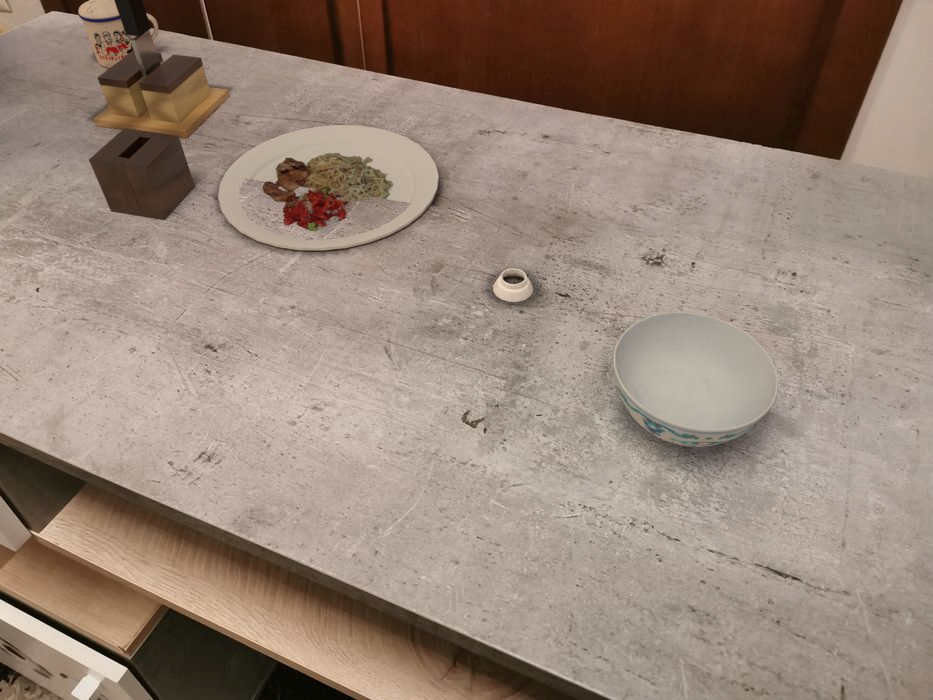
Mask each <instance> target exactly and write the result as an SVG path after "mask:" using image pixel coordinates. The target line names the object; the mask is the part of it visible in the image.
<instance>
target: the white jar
mask: <svg viewBox="0 0 933 700" xmlns="http://www.w3.org/2000/svg"><path fill="white" fill-rule="evenodd" d="M507 277H518V278H521V279H523V280H522V281H521V282H519V283H509V282H506V281H505V280H504V278H507ZM492 289H493V290H492V292H493V293H494V295H495V297H497V298H499V299H500V300H502V301H505V302H509V303H519V302H522V301H525V300H527V299H528V298H531V296H532V294H533V292H534V285H533V283H532V282H531V280H530V279H529V277H528V276H527V273H526V272H525V271H523V270H522V269H519V268H514V267H513V268H507V269H505V270H503V271H502V272H501V273H500V274H499V276H498V277H497V279H496V280H495V282H494V283H493V285H492Z"/></svg>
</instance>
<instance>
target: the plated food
mask: <svg viewBox="0 0 933 700" xmlns="http://www.w3.org/2000/svg"><path fill="white" fill-rule="evenodd" d="M245 179H247V180H251V181H252V180H254V181H260V182H264V184H262V190H263V193H264V194H266V195H267V196H269V197H270V198H271V199H272V200H273V201H274V202H279V203H285V204H284V207H282V214H283V215H282V216H283V220H282V222H283V223H284V226H285V227H286V226H291V225H292V224H295V223H296V225H298V227H300V228H303V229H305V230H310V231H311V232H318V231H319V232H320V231H323V230H324V229H326V227H327V226H330V225H331V224H332V223H333V224H335V223H338V222H341V221H342V220H345V219H346V217H347V216H346V214H347V211H346V208H345V207H346V205H349V206H354V204H353V203H354V202H357V201H358V203H361V202H362V201H367V198H370V199H373V198H375V199H381V200H387V201H388V200H389V201H394V202H395V201H396V202H401V203H409V205H408V207H407V208H406V209H405V210H404V211H403V212H400V214H398V215H397V216H396V217H395V218H394V219H392V220H390V221H388V222H386V223H385V224H382V225H380V226H379V227H376V228H373V229H370V230H368V231H365V232H363V233H358V234H353V235H350V236H345V237H339V238H338V237H337V238H327V239H305V238H297V237H291V236H286V235H282V234H279V233H276V232H272V231H269V230H268V229H265V228H264V227H262V226H260V225H258V224H257V223H256V222H254V221H253V220H252V219H251V218H249V216H248V215H247V214H246V212H245V211H244V210H243V208H242V204H241V201H240V200H241V199H240V192H241V187H242V185H243V183H244V180H245ZM280 187H281V188H282V189H284V190H282V189H281V188H280ZM300 187H301V188H307V189H308V190H307V192H305V193H303V194H299V195H297V194H296V192H295V191H296V190H297V189H299V188H300ZM438 187H439V171H438V168H437V164H436V162H435V161H434V159H433V158H432V156H431V155H430V153H429V152H428V151H427V150H425V149H424V148H423V146H421V144H419V143H417V142H415V141H414V140H412V139H410V138H408V137H407V136H404V135H401V134H400V133H396V132H393V131H391V130H387V129H382V128H378V127H373V126H365V125H357V124H333V125H321V126H314V127H313V126H312V127H308V128H303V129H298V130H294V131H290V132H287V133H284V134H281V135H278V136H275V137H272V138H270V139H268V140H266V141H263V142H261V143H259V144H257V145H256V146H254V147H252V148H251V149H249V150H247V151H246V152H245V153H243V154H242V155H241V156H240V157H238V158H237V159H236V160H235V161H234V162H233V163H232V164H231V165H230V167H228V169H227V170H226V171H225V173H224V174H223V176H222V179H221V181H220V183H219V187H218V193H217V194H218V195H217V199H218V202H219V207H220V211H221V212H222V213H221V214H223V215H224V217H225V219H226V220H227V222H228V223H229V224H230V225H231V226H233V228H235V229H236V230H237V231H238V232H240V234H243V235H245V236H247V237H249V238H250V239H252V240H254V241H257V242H259V243H262V244H265V245H269V246H273V247H276V248H283V249H287V250H288V249H289V250H296V251H330V250H340V249H348V248H352V247H357V246H361V245H366V244H370V243H371V242H375V241H378V240H380V239H383V238H386V237H388V236H391V235H393V234H395V233H397V232H398V231H400V230H402V229H403V228H405V227H408V226H409V225H410V224H411V223H412V222H414V221H415V220H417V219H418V218H419V217H420V216H422V215H423V213H424V212H425V211H426V210H427V209H428V208H429V206H430V205H431V204H432V203H433V200H434V198H435V196H436V194H437V192H438ZM311 189H312V190H311ZM354 199H355V200H354ZM332 217H333V220H330V219H331V218H332Z"/></svg>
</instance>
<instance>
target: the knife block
mask: <svg viewBox="0 0 933 700" xmlns="http://www.w3.org/2000/svg"><path fill="white" fill-rule="evenodd" d="M88 162H89V164H90V166H91V168H92V171H93V173H94V175H95V178H96V180H97V182H98V185H99V187H100V189H101V192H102V194H103V196H104V198H105V201H106V203H107V206H108V207H109V210H110V212H111V213H117V214H123V215H130V216H134V217H135V216H136V217H141V218H147V219H154V220H159V221H166V219H168V217H169V216H170V215H171V214H172V213H173V212H174V211H175V210H176V209H177V208H178V207H179V206H180V205H181V203H182V202H183V201H184V200H185V199H186V198H187V197H188V196H189V195H190V193H192V191H193V190H194V189H195V188H196V185H195V183H194V179H193V176H192V173H191V170H190V167H189V164H188V161H187V157H186V154H185V151H184V148H183V145H182V143H181V139H180V137H179V136H178V135H171V134H163V133H156V132H149V131H142V130H135V129H128V128H124V129H121V131H119V132H118V133H117V134H116V135H115V136H114V137H112V138H111V139H110V140H109V141H108V142H107V143H106V144H104V145H103V146H102V147H101V148H100V149H99V150H98V151H96V152H95V153H94V154H93V155H92V156H90V158H88Z"/></svg>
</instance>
